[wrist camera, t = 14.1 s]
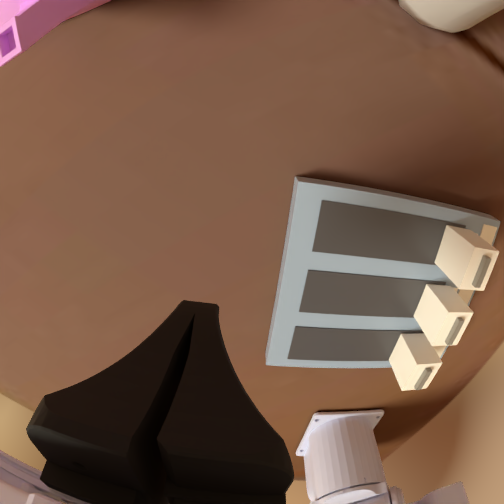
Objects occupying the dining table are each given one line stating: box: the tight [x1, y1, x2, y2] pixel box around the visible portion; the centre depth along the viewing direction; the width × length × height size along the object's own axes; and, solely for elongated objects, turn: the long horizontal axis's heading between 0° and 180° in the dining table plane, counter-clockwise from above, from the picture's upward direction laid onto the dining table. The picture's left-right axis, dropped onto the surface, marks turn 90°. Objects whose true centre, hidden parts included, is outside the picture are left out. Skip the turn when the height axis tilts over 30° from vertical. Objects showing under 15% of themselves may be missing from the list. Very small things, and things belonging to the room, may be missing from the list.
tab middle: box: [414, 284, 474, 346], centre depth 18 cm, size 3×2×4 cm
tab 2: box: [434, 225, 499, 291], centre depth 17 cm, size 3×2×4 cm
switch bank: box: [266, 176, 501, 368], centre depth 21 cm, size 14×16×2 cm
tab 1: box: [389, 333, 442, 391], centre depth 20 cm, size 3×2×4 cm
